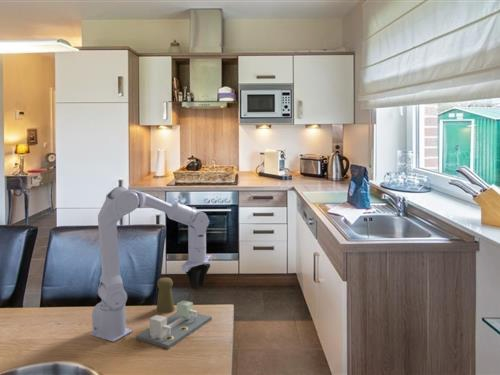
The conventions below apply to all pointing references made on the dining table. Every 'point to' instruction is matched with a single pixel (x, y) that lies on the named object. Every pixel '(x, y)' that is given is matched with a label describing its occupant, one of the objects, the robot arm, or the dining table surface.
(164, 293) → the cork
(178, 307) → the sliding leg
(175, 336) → the plate
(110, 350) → the dining table surface
